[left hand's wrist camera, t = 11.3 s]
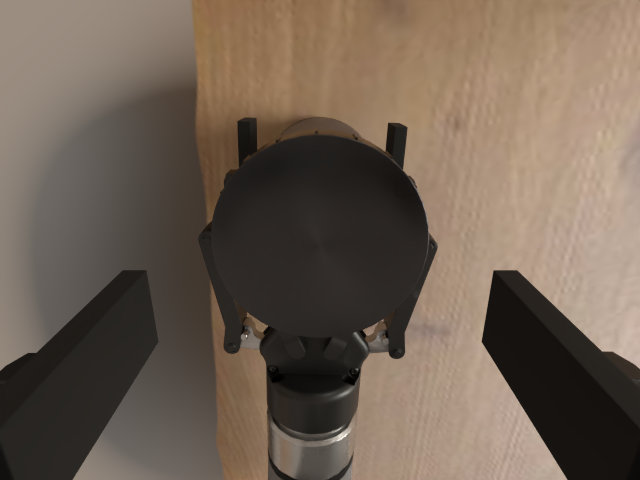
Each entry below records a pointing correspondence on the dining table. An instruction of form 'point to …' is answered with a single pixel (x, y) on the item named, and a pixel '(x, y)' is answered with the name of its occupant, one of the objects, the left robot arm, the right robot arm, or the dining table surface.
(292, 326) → the lid
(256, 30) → the dining table surface
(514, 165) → the dining table surface
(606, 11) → the dining table surface
